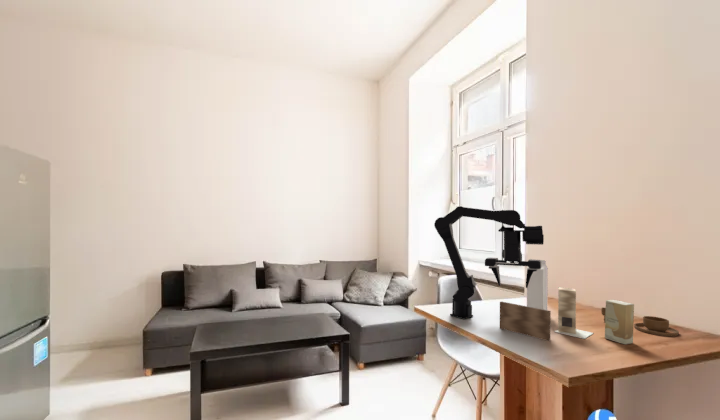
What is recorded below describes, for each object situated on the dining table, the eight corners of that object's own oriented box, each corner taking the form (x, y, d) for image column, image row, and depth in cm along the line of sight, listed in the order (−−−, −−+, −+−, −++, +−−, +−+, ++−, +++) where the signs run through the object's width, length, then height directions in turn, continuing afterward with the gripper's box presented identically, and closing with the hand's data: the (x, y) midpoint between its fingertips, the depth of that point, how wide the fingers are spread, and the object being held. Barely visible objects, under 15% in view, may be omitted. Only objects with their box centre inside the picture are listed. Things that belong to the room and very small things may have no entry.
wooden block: (558, 331, 119) (558, 289, 120) (558, 327, 124) (558, 287, 124) (575, 333, 117) (575, 291, 117) (574, 329, 121) (575, 288, 122)
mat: (554, 331, 119) (554, 331, 119) (564, 327, 125) (564, 326, 125) (584, 339, 113) (584, 338, 113) (593, 333, 118) (593, 332, 119)
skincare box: (604, 338, 114) (604, 300, 114) (612, 336, 115) (612, 299, 116) (625, 345, 108) (625, 304, 108) (634, 343, 109) (634, 303, 110)
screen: (499, 328, 122) (499, 302, 122) (501, 327, 123) (501, 301, 123) (548, 340, 110) (548, 311, 110) (550, 340, 111) (550, 311, 111)
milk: (543, 318, 136) (543, 261, 136) (526, 315, 140) (526, 259, 140) (547, 315, 140) (548, 259, 141) (531, 312, 144) (531, 258, 145)
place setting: (658, 341, 114) (658, 322, 114) (598, 323, 133) (598, 307, 133) (691, 335, 120) (691, 318, 121) (629, 319, 139) (629, 304, 139)
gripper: (541, 243, 133) (542, 285, 133) (489, 242, 143) (490, 281, 142) (539, 245, 124) (540, 290, 123) (484, 243, 133) (484, 285, 132)
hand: (512, 286), depth 130 cm, fingers open, 9 cm apart
